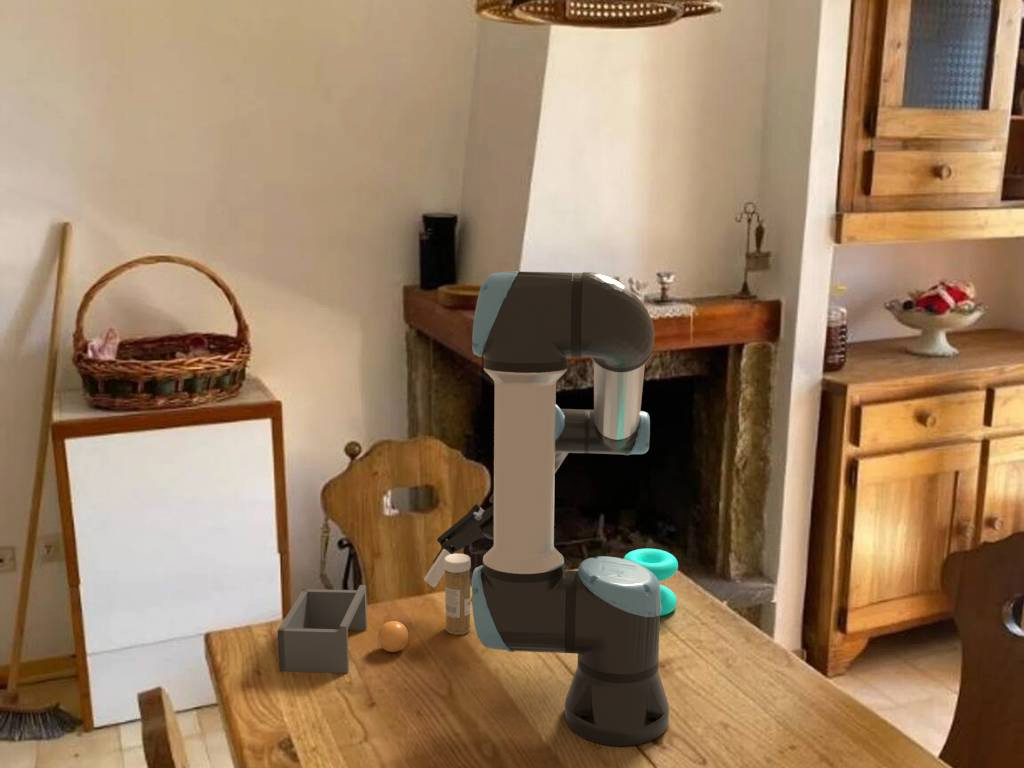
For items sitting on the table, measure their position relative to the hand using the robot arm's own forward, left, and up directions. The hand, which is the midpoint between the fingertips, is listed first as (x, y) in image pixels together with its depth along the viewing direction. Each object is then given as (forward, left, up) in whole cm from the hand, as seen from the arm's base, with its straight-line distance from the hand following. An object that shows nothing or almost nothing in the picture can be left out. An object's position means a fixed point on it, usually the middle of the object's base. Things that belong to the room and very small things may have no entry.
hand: (452, 596), depth 170 cm
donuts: (+11, -35, -7) cm, 37 cm away
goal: (-8, +21, -6) cm, 23 cm away
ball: (-8, +9, -4) cm, 13 cm away
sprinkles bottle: (0, -1, -7) cm, 7 cm away
